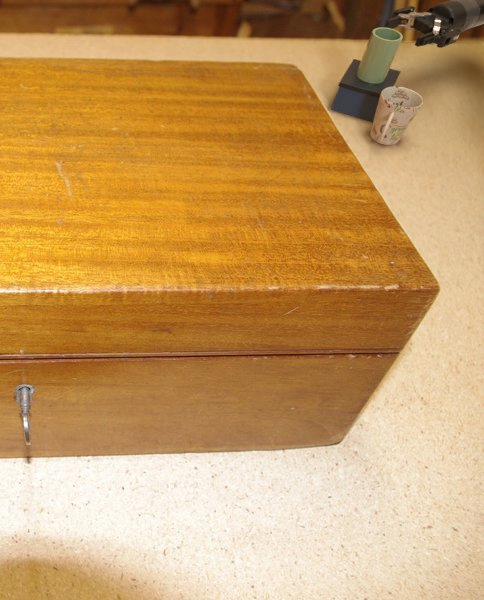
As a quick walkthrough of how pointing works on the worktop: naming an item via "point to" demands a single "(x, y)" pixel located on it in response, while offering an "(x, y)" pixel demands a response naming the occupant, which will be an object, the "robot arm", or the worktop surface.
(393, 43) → the cup
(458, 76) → the worktop surface
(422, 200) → the worktop surface
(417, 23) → the robot arm
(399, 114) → the mug
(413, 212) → the worktop surface
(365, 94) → the container
